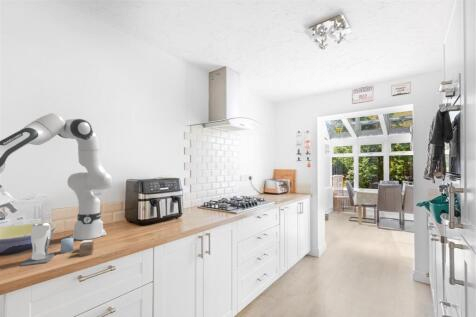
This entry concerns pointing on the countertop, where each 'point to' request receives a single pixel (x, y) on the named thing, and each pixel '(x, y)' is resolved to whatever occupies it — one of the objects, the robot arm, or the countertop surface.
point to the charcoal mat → (30, 262)
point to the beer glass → (40, 240)
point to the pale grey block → (86, 241)
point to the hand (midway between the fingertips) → (10, 213)
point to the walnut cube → (86, 248)
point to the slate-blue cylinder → (67, 245)
